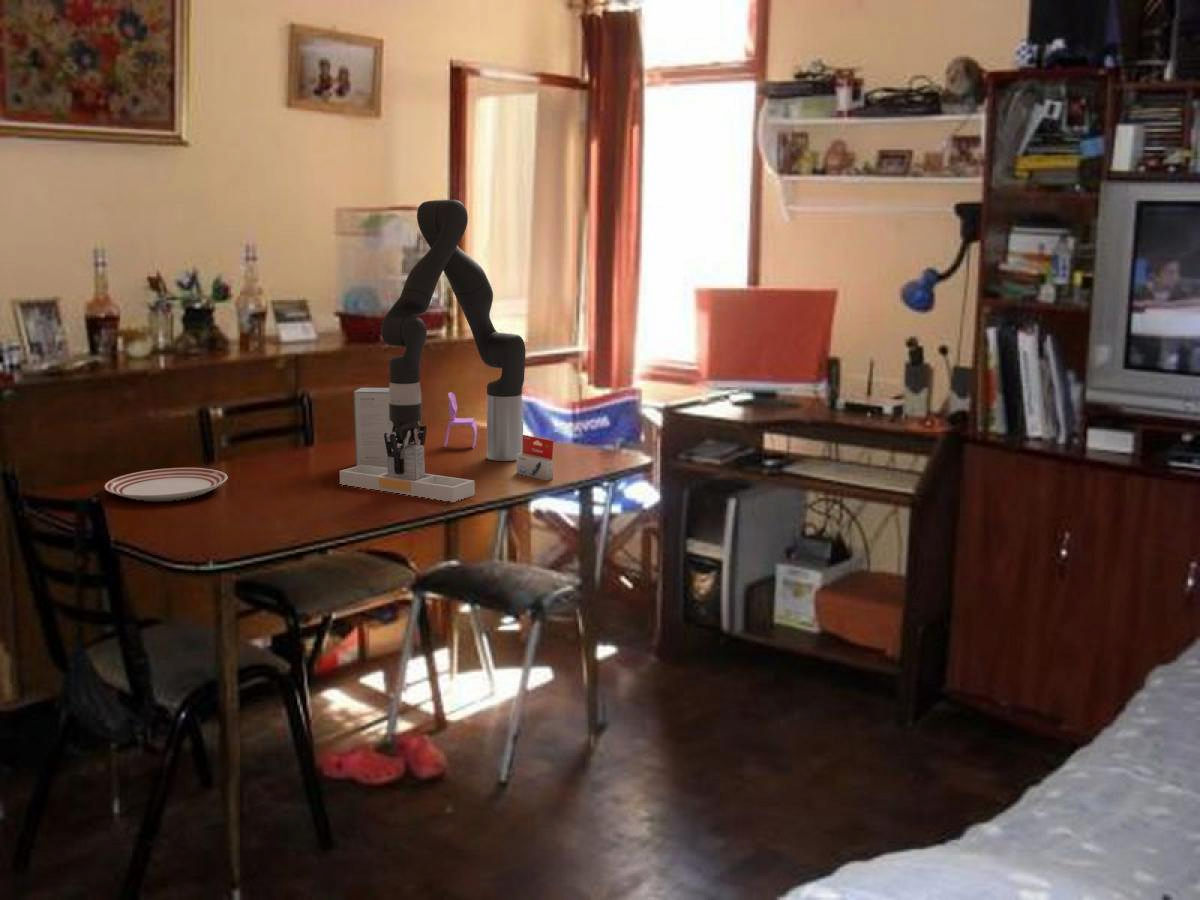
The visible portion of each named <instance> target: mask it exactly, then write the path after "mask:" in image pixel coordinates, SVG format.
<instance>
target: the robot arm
mask: <svg viewBox="0 0 1200 900" xmlns="http://www.w3.org/2000/svg"><path fill="white" fill-rule="evenodd" d="M468 216H469V215H468V211H467V208H466V207H465V204H463V203H462V202H461V201H460V200H457V199H440V200H437V199H435V200H427V201H423V202H422V203H421V204H420V205H419V206H418V208H417V211H416V221H417V225H418V228H419V230H420V232H421V235H422V237H423V238H424V240H425V242H426V243H427V245H428V247H430V248H429V250H428V251H427V252H426V254H425V255H423V257H421V259H420V260H419V261H418V262H417V263H416V264H415V265H414V266H413V268H412V269H411V270H410V272H409V273H408V275H407V278H406V280H405V282H404V285H403V288H402V290H401V293H400V296H399V297H398V299H397V300H396V302H395V303H394V304H393V305H392V307H391V308H390V310H389V311H388V312H387V313H386V315H385V317H384V318H383V320H382V323H381V328H380V336H381V339H382V341H383V342H384V343H385V344H386V345H389V346H396V347H405V350H404V353H403V355H398V356H394V357H392V358H391V359H390V361H389V364H388V366H389V367H388V368H389V386H388V388H389V419H390V421H392V423H393V428H392V432H390V433H385V434H384V439H385V444H386V450H387V455H388V457H393V458H394V471H395V473H396V474H403V473H404V459H403V457H404V452H405V450H406V449H407V445H408V444H412V445H418V444H419V440H420V445H423V446H424V447H425V444H426V436H427V429H428V427H427V425H423V424H420V421H422V389H421V377H420V374H421V373H420V367H421V366H420V365H421V361H422V355H423V351H424V348H425V343H426V339H427V332H428V331H427V326H426V324H425V321H424V320H423V319H422V318H420V317H417V315H422V314H425V313H426V312H427V311H428V309H429V307H430V304H431V302H432V298H433V295H434V293H435V290H436V287H437V285H438V282H439V280H440V278H441V275H442V273H443V272H444V274H445V277H446V278H447V280H448V283H449V285H450V287H451V290H452V292H453V295H454V296H455V299H456V301H457V302H458V304H459V306H460V308H461V310H462V313H463V314H464V317H465V319H466V322H467V324H468V326H469V328H470V331H471V333H472V337H473V339H474V340H473V341H474V343H475V346H476V348H477V349H476V350H477V352H478V354H479V357H480V358H481V360H482V362H483V364H485V365H486V366H488V367H490V368H494V369H495V368H496V369H501V375H500V377H499V378H498V379H496V380H492V381H489V382H488V383H487V385H486V458H487V459H488V460H491V461H495V462H512V461H517V459H516V454H519V453H523V435H524V421H523V417H522V416H523V415H522V414H523V404H522V403H523V400H522V399H523V397H522V395H523V394H522V393H523V386H524V382H525V367H526V344H525V341H524V339H523V337H522V336H521V335H519V334H516V333H506V332H505V333H504V332H499V331H498V330H496V329H495V327H494V325H493V323H492V319H491V317H490V314H491V310H492V305H493V301H494V292H493V288H492V286H491V283H490V281H489V279H488V277H487V274H486V273H485V270H484V269H483V268H482V266H481V265H480V264H479V263H478V262H476V260H474V259H473V258H472V257H471V256H470V255H469V254H467V253H466V252H464V251H463V249H461V248H460V247H459V246H458V245H459V243H460V242H461V239H462V238H463V237H464V234H465V232H466V229H467V227H468V220H469V217H468ZM418 422H419V424H418ZM398 443H399V444H402V445H398ZM391 448H392V449H393V452H392V450H391ZM398 448H399V449H400V453H399V452H398Z"/></svg>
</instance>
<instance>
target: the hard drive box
mask: <svg viewBox="0 0 1200 900" xmlns="http://www.w3.org/2000/svg"><path fill="white" fill-rule="evenodd" d="M353 415H354V442H355V444H354V445H355V447H354V448H355V466H359V465H369V466H376V467H383V468H387V450H386V444H385V439H384V434H385V433H390V432H392V428H393V423H392V421H390V419H389V387H360V388H358V389H356V390H354V391H353ZM418 424H419V425H420V421H419V422H418ZM420 441H421V440H419V444H418V445H420Z"/></svg>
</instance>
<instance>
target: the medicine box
mask: <svg viewBox="0 0 1200 900" xmlns="http://www.w3.org/2000/svg"><path fill="white" fill-rule="evenodd" d="M398 445H402V444H399V443H398ZM391 450H392V452H393V449H392V448H391ZM398 452H399V453H400V449H399V448H398ZM403 459H404V473H403V474H396V473H395V471H394V458H393V457H388V455H387V471H388V477H391V478H397V479H404V480H411V481H416V480H419V479H422V478H425V474H426V471H425V470H426V468H425V465H426V463H425V445H424V446H423V445H412V444H408V445H407V449H406V450H405V452H404V457H403Z"/></svg>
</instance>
